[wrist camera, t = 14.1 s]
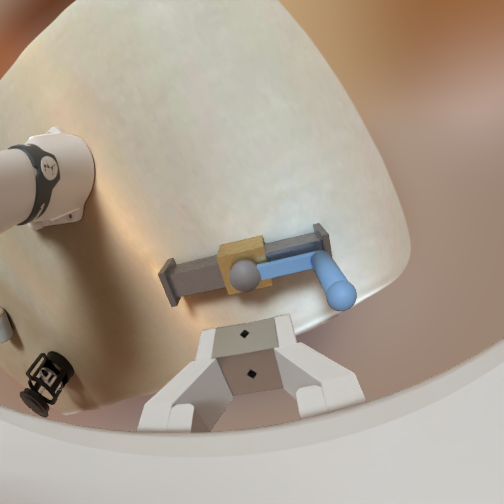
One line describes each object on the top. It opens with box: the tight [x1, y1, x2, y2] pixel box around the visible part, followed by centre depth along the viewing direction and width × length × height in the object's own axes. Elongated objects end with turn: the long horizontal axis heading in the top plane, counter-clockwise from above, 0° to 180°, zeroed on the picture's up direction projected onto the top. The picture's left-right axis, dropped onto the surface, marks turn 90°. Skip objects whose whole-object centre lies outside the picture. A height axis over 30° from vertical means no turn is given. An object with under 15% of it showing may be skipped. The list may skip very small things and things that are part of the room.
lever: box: [229, 250, 357, 311], centre depth 34 cm, size 15×4×13 cm, turn 104°
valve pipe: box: [158, 223, 332, 307], centre depth 43 cm, size 26×6×6 cm, turn 104°
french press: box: [20, 351, 74, 417], centre depth 46 cm, size 12×9×23 cm
